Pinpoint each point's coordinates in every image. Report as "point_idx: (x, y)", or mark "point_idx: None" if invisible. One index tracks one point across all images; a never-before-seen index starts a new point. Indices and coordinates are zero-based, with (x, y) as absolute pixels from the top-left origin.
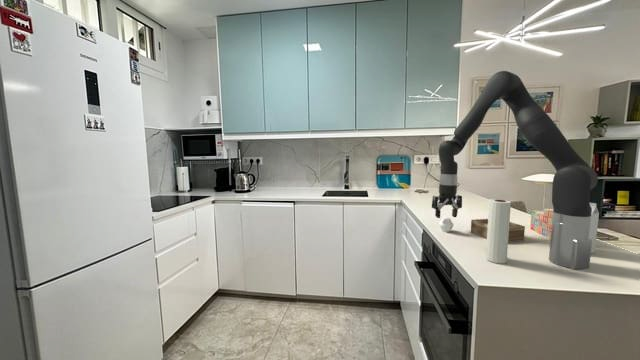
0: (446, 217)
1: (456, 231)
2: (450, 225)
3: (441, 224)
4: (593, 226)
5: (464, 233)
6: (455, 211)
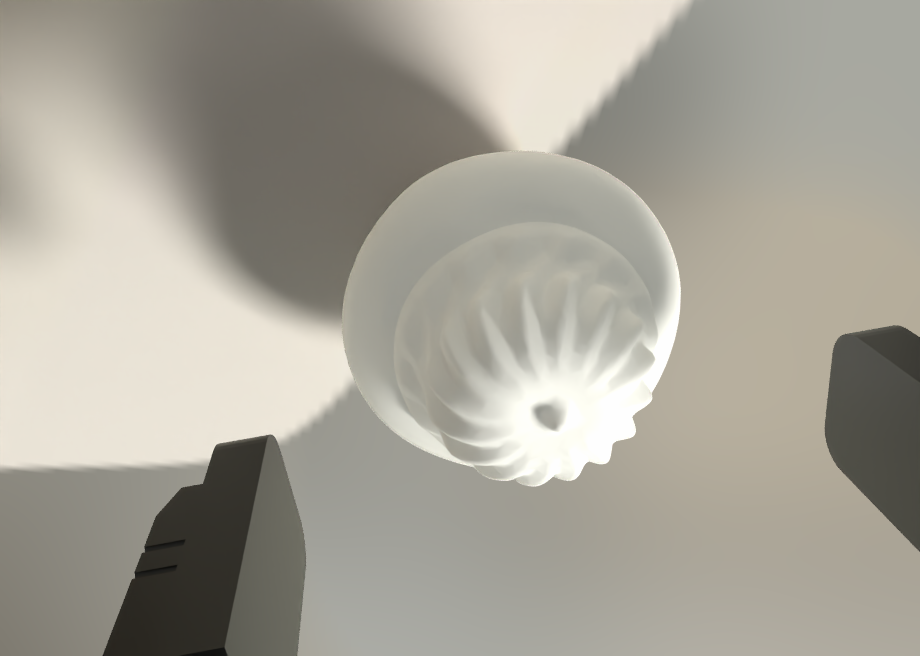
0: (569, 412)
1: (261, 235)
2: (500, 157)
3: (676, 267)
4: None
5: (135, 80)
6: (238, 579)
